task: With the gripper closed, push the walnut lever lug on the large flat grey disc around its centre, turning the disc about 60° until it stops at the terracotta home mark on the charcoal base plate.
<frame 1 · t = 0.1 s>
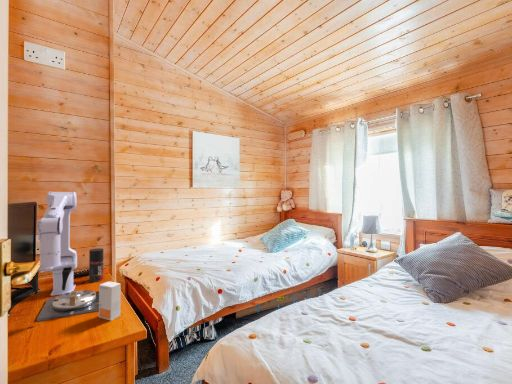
hand: (50, 291, 94), 10 cm above the cabinet, tool pointing down, fingers open, 7 cm apart
base plate: (75, 305, 105), on the cabinet
deodorant: (96, 280, 133), on the cabinet
skincare box: (109, 317, 97), on the cabinet
flat grey disc: (74, 296, 104), point 4 cm above the cabinet, hinge at 0.0°
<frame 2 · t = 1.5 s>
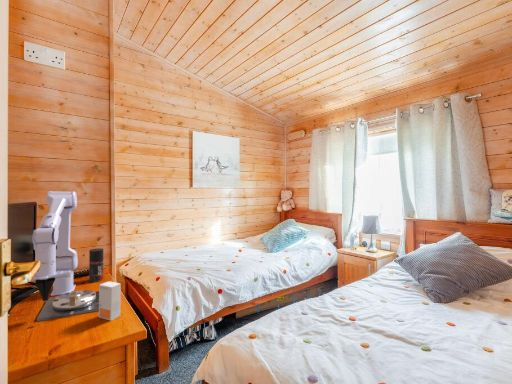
hand: (45, 299, 96), 6 cm above the cabinet, tool pointing down, fingers closed
nothing on the cabinet moved.
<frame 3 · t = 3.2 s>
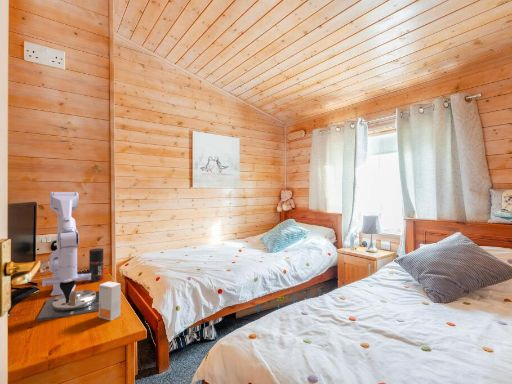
hand: (67, 302, 99), 4 cm above the cabinet, tool pointing down, fingers closed, pressing on flat grey disc
flat grey disc: (74, 296, 104), point 4 cm above the cabinet, hinge at 0.5°, touching gripper
everything else where it was.
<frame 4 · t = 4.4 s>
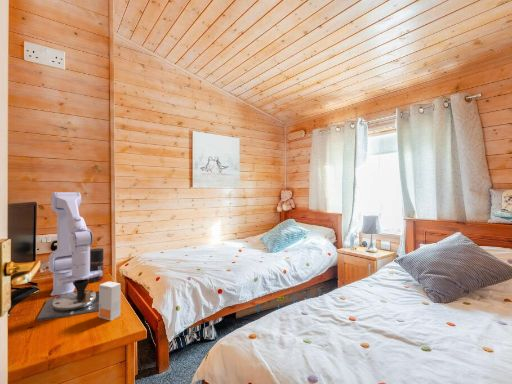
hand: (80, 299, 101), 4 cm above the cabinet, tool pointing down, fingers closed, pressing on flat grey disc
flat grey disc: (76, 295, 105), point 4 cm above the cabinet, hinge at 35.4°, touching gripper
everything else where it was.
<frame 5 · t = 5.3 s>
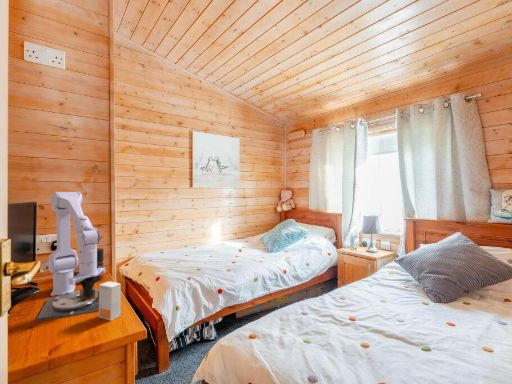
hand: (88, 296, 103), 4 cm above the cabinet, tool pointing down, fingers closed, pressing on flat grey disc
flat grey disc: (76, 295, 105), point 4 cm above the cabinet, hinge at 60.3°, touching gripper
everything else where it was.
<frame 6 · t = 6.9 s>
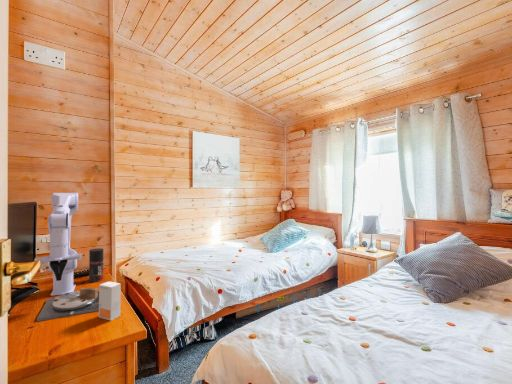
hand: (59, 279, 104), 10 cm above the cabinet, tool pointing down, fingers closed
flat grey disc: (76, 295, 105), point 4 cm above the cabinet, hinge at 60.6°
everything else where it was.
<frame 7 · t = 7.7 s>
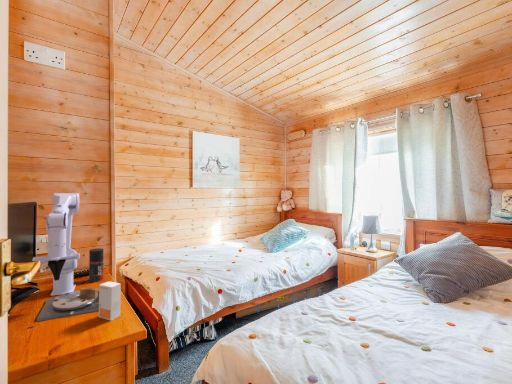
hand: (57, 279, 104), 10 cm above the cabinet, tool pointing down, fingers closed
nothing on the cabinet moved.
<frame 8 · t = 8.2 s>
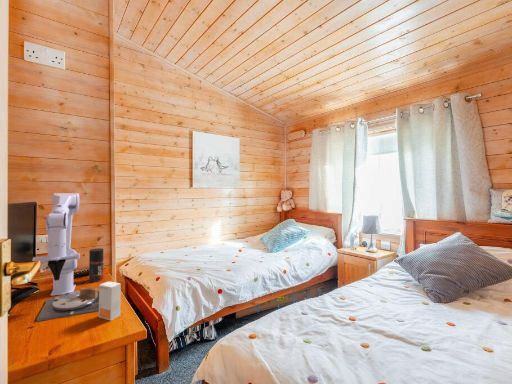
hand: (57, 279, 104), 10 cm above the cabinet, tool pointing down, fingers closed
nothing on the cabinet moved.
at the end: flat grey disc at +61° (first picture: +0°); skincare box moved 0.2 cm from its start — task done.
